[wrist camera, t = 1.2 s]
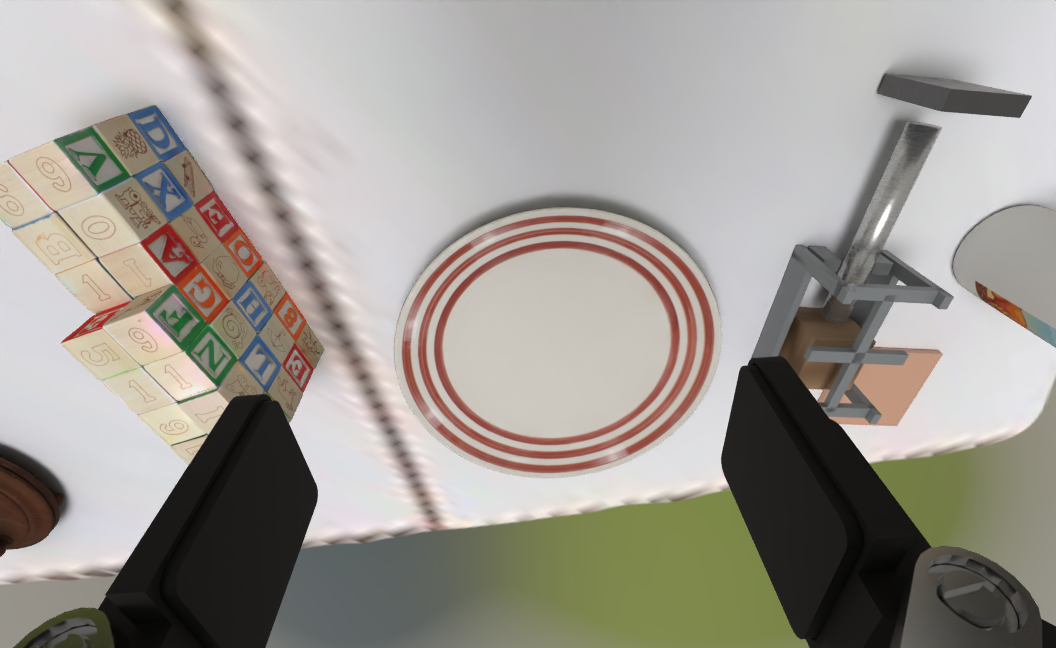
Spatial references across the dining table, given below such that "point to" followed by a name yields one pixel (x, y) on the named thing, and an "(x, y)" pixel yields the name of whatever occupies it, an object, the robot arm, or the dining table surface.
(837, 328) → the cube
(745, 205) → the dining table surface
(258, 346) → the stack of blocks
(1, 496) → the wooden spool stand
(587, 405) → the dinner plate
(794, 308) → the cage
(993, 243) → the milk bottle
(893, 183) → the plunger
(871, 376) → the coaster
